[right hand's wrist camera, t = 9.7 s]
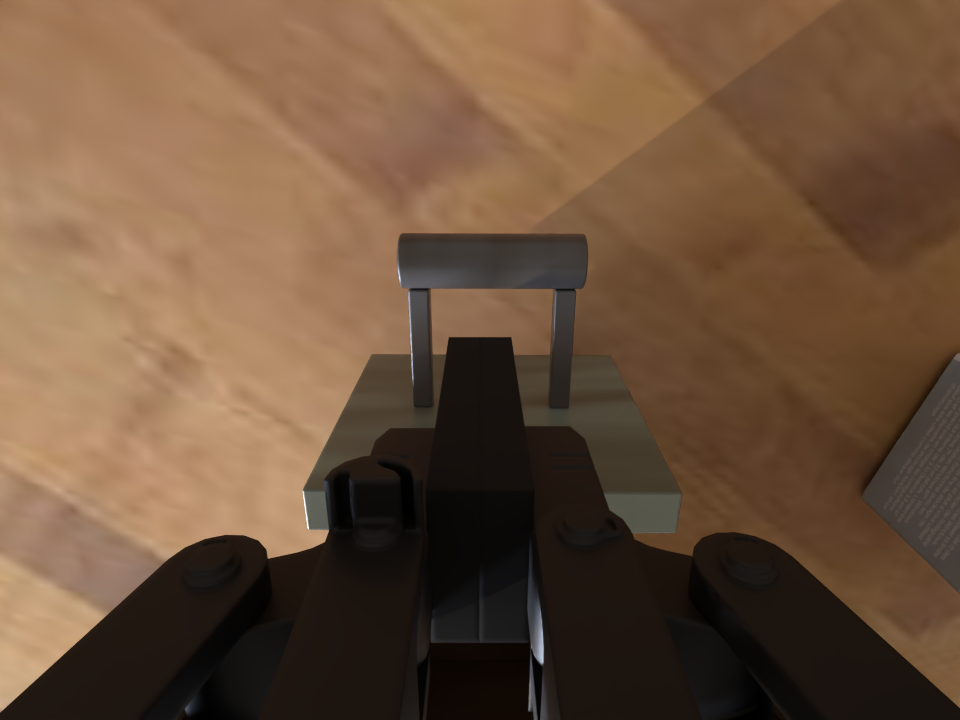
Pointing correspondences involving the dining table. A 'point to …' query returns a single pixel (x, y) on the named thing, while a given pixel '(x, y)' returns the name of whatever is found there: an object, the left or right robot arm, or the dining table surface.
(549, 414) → the drawer
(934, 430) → the hard drive box
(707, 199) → the dining table surface
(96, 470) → the dining table surface
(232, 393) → the dining table surface
